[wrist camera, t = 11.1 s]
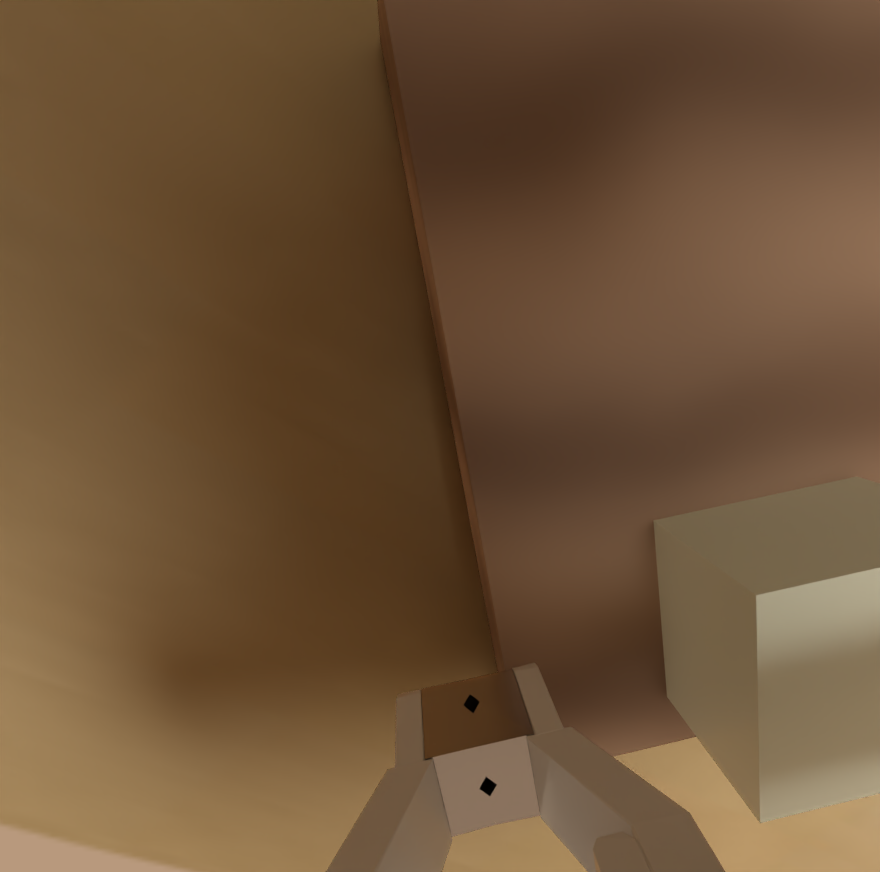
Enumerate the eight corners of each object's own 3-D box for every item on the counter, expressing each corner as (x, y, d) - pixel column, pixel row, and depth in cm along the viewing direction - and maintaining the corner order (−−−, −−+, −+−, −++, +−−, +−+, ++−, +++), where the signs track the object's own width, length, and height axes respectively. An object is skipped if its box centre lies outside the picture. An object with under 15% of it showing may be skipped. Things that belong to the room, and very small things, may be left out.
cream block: (653, 520, 10) (755, 595, 7) (856, 476, 10) (1038, 532, 7) (666, 696, 11) (760, 823, 8) (849, 654, 11) (1003, 762, 8)
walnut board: (379, 39, 10) (372, -62, 7) (928, -52, 10) (1093, -173, 8) (502, 700, 14) (524, 777, 11) (886, 612, 14) (985, 668, 12)
